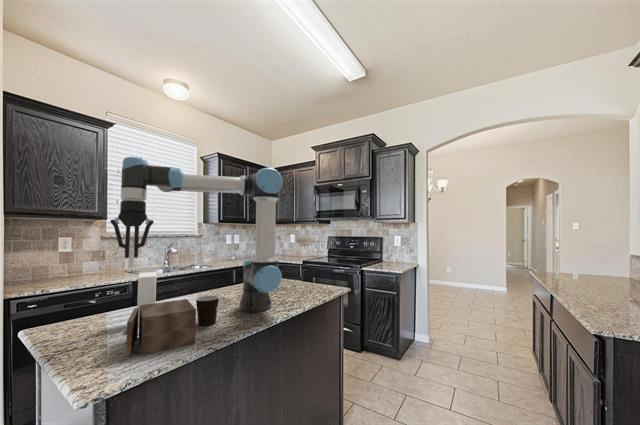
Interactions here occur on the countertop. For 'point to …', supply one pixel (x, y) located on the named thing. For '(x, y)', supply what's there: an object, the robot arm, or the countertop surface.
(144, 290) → the milk
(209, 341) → the countertop surface
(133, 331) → the door
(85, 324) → the countertop surface
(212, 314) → the coffee mug
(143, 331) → the cabinet
